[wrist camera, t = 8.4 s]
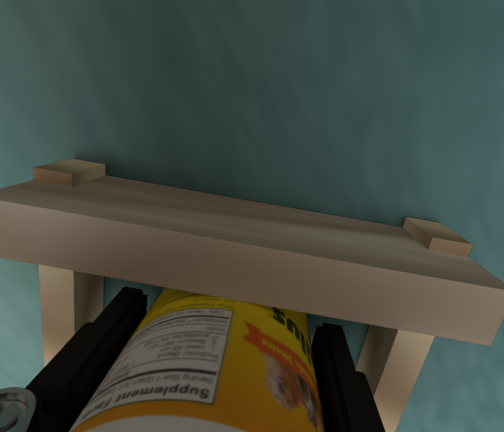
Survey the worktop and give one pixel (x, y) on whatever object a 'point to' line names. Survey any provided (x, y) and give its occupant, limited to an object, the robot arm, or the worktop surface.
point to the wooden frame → (249, 265)
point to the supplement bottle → (210, 371)
